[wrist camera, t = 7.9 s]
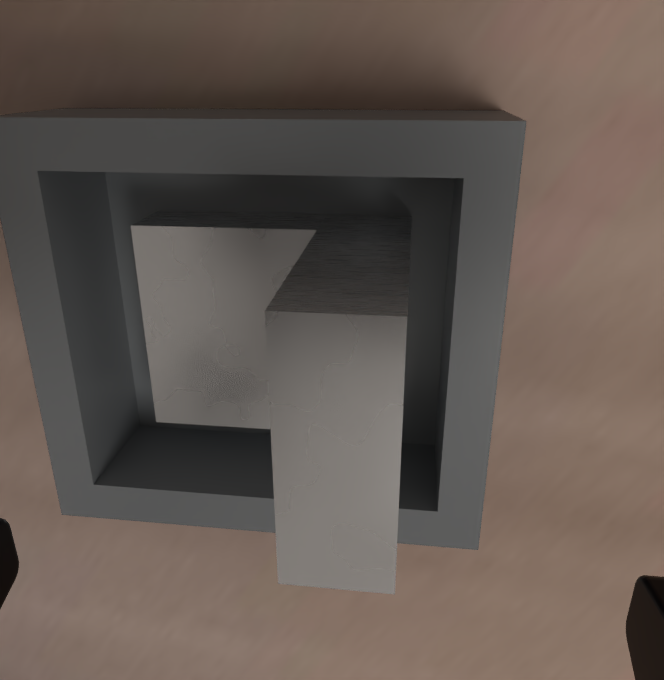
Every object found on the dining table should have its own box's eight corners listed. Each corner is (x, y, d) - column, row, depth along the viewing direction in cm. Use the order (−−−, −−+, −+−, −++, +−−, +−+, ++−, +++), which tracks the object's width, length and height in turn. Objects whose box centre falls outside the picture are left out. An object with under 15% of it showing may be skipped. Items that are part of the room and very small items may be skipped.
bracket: (403, 404, 20) (394, 594, 13) (179, 391, 21) (50, 562, 14) (412, 215, 18) (407, 316, 10) (159, 210, 19) (-10, 300, 11)
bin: (468, 468, 21) (478, 549, 18) (118, 443, 23) (61, 514, 19) (502, 110, 17) (526, 121, 13) (66, 108, 18) (-21, 117, 15)
